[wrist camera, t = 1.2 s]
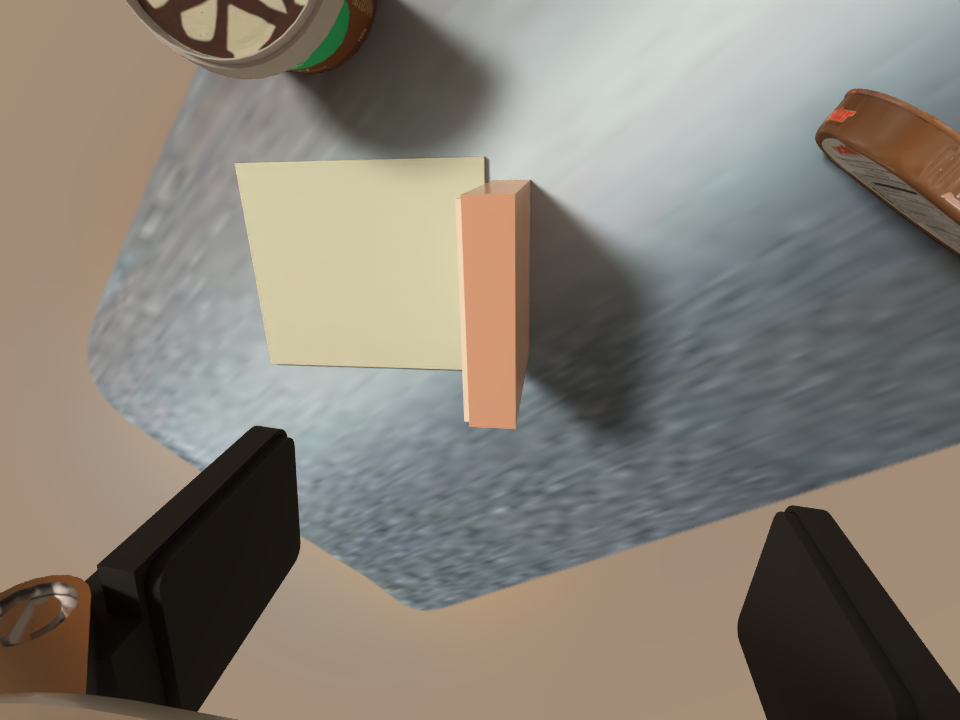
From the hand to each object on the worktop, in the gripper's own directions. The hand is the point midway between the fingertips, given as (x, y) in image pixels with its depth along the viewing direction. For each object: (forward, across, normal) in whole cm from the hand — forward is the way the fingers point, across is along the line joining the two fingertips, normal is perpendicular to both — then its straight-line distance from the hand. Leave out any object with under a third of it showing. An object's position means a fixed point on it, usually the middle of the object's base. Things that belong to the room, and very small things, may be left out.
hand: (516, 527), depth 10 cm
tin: (+29, -20, -6) cm, 36 cm away
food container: (+29, +17, -12) cm, 36 cm away
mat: (+29, +13, +2) cm, 32 cm away
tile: (+29, +3, +1) cm, 29 cm away
